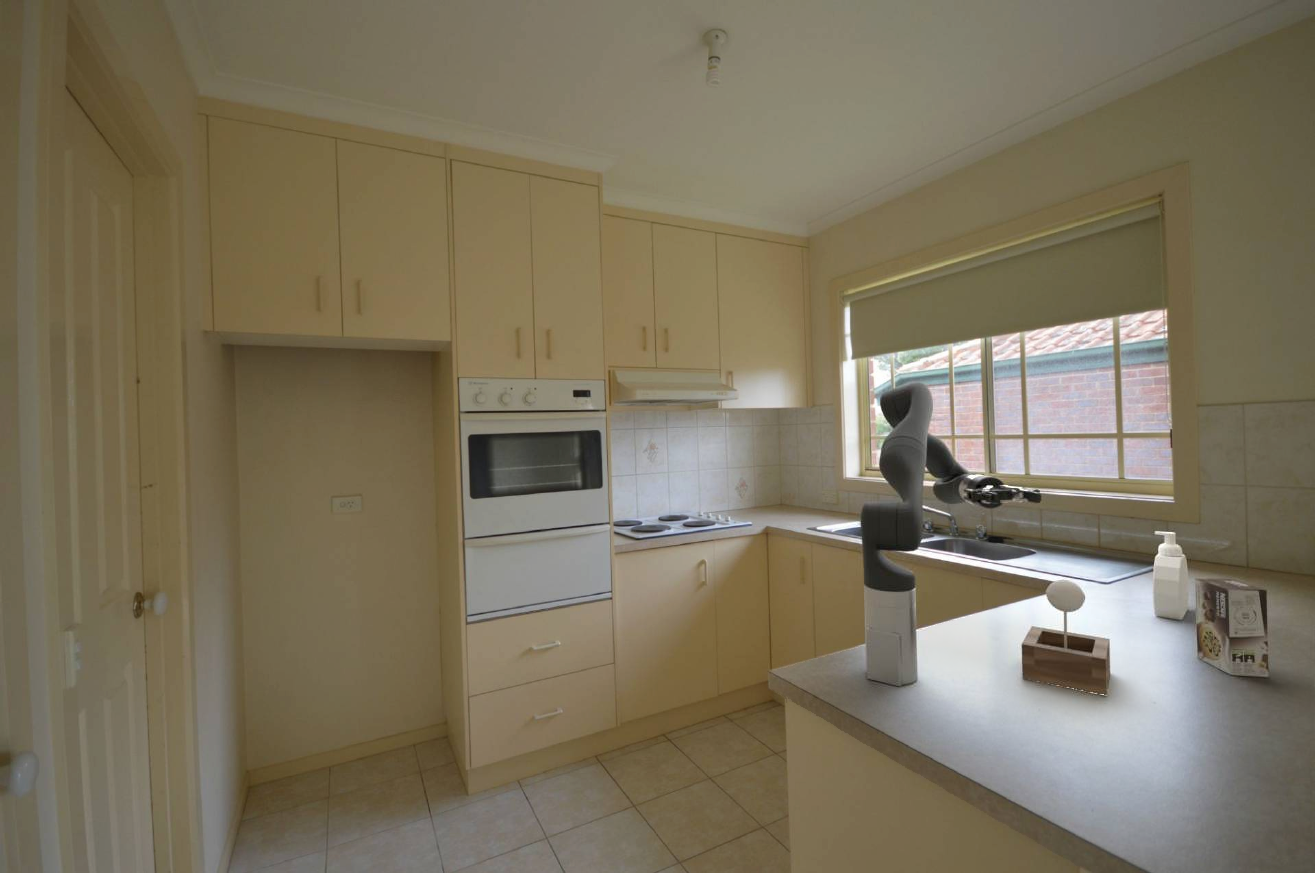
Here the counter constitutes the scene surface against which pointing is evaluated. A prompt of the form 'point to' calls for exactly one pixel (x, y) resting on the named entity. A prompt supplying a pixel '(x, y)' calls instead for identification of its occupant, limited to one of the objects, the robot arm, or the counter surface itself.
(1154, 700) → the counter surface
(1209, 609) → the coffee box
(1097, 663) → the base
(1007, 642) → the counter surface
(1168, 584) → the soap bottle
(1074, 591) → the lollipop
